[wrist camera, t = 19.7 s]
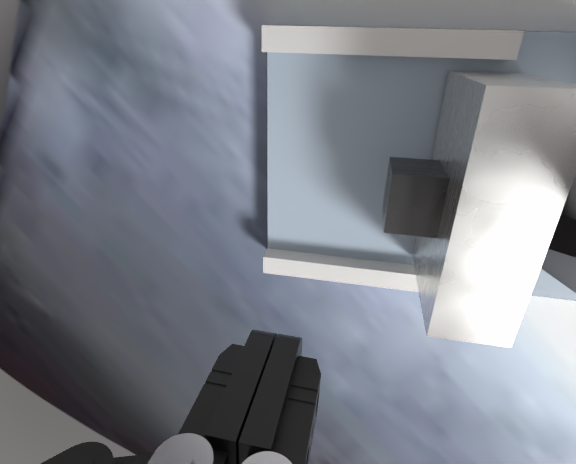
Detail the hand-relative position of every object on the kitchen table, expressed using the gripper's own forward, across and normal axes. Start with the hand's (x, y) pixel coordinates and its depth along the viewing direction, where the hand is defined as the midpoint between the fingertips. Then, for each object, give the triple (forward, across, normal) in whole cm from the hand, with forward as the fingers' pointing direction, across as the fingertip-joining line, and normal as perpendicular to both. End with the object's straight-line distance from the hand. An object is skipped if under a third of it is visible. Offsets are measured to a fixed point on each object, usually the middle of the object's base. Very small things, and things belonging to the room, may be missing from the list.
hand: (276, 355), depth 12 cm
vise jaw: (+10, -5, -3) cm, 12 cm away
